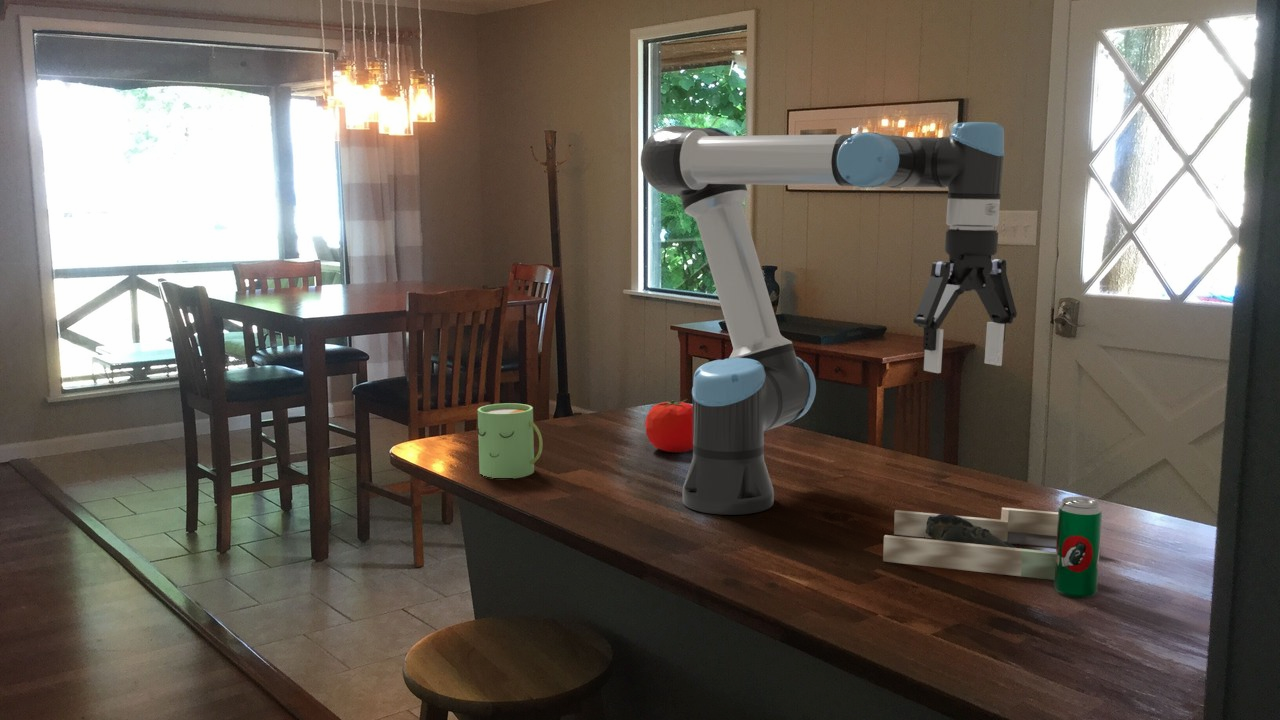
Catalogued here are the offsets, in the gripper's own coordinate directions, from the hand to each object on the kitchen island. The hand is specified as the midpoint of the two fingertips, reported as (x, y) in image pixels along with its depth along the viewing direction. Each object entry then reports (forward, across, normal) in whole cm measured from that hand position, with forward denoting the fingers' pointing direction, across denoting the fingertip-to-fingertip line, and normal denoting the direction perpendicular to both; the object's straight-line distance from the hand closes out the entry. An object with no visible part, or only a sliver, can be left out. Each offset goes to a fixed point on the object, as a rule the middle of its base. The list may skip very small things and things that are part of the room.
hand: (963, 368), depth 160 cm
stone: (+24, -11, -13) cm, 29 cm away
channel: (+24, -7, -12) cm, 28 cm away
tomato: (+26, -11, +62) cm, 68 cm away
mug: (+26, -45, +65) cm, 83 cm away
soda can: (+24, -11, -30) cm, 40 cm away
